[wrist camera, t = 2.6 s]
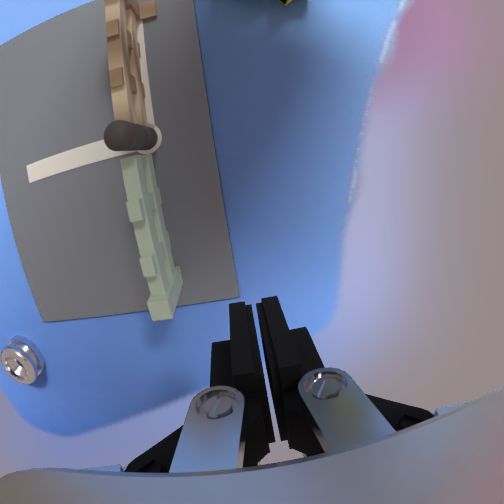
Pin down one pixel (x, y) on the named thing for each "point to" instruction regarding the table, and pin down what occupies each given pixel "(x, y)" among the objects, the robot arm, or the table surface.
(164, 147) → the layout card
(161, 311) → the fence swing section
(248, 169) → the table surface
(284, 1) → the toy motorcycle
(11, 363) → the grooved metal pulley
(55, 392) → the table surface
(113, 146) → the fence fixed section
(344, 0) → the table surface
